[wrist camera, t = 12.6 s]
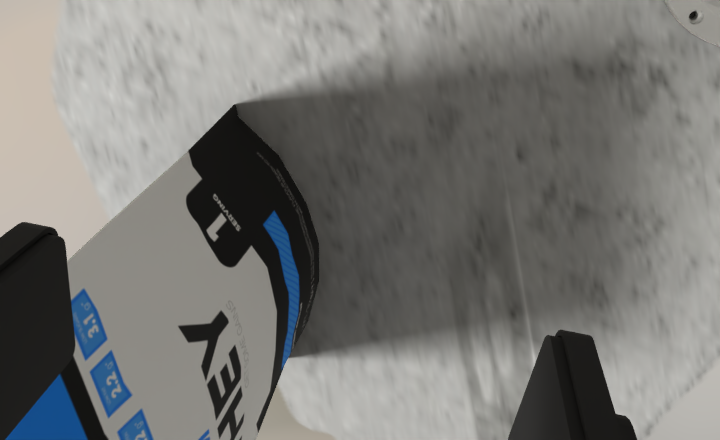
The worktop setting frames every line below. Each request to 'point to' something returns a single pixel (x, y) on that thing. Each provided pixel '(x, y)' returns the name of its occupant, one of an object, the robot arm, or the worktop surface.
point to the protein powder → (187, 302)
